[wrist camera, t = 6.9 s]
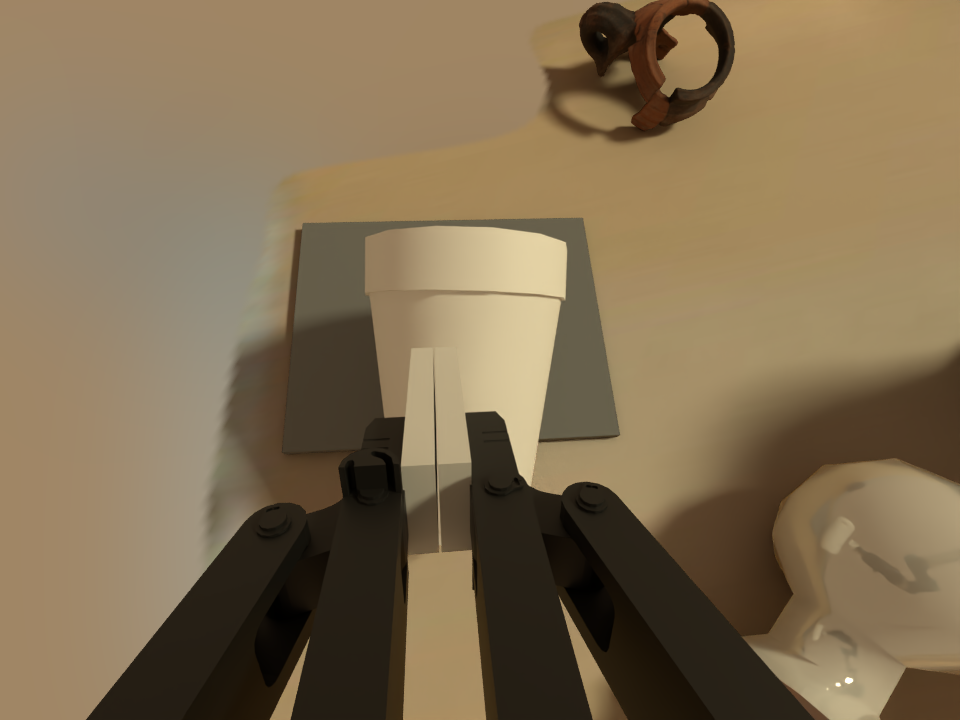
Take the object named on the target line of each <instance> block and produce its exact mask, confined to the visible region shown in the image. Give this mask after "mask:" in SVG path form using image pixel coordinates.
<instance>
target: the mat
mask: <svg viewBox="0 0 960 720" xmlns="http://www.w3.org/2000/svg"><path fill="white" fill-rule="evenodd" d="M428 226H461V227H494V228H502V229H509V230H517V231H524V232H532V233H539V234H543V235H546V236H549V237H552V238H555V239H558V240H561V241H564V242H566V247H567V269H566V296H565V301H561V305H560V311H559V317H558V323H557V329H556V335H555V341H554V348H553V354H552V360H551V366H550V372H549V378H548V384H547V390H546V397H545V403H544V409H543V415H542V421H541V427H540V433H539V439H538V441H545V440H564V439H583V438H602V437H617V436H619V435H620V432H619V426H618V420H617V414H616V409H615V403H614V397H613V391H612V385H611V379H610V374H609V368H608V362H607V356H606V350H605V344H604V338H603V333H602V327H601V321H600V315H599V309H598V303H597V298H596V292H595V286H594V280H593V274H592V268H591V263H590V257H589V251H588V245H587V239H586V233H585V228H584V222H583V218H546V219H494V220H442V221H390V222H338V223H303V226H302V237H301V248H300V259H299V270H298V281H297V292H296V303H295V314H294V325H293V336H292V348H291V359H290V370H289V381H288V392H287V403H286V414H285V425H284V436H283V447H282V453H284V454H299V453H318V452H337V451H356V450H361V447H362V442H363V438H364V433H365V429H366V427H367V426H368V425H369V424H370V423H371V422H372V421H373V420H374V419H375V418H384V411H383V402H382V394H381V386H380V377H379V369H378V361H377V352H376V344H375V336H374V327H373V319H372V311H371V302H370V296H365V237H367V236H370V235H374V234H377V233H380V232H383V231H386V230H392V229H404V228H416V227H428Z"/></svg>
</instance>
